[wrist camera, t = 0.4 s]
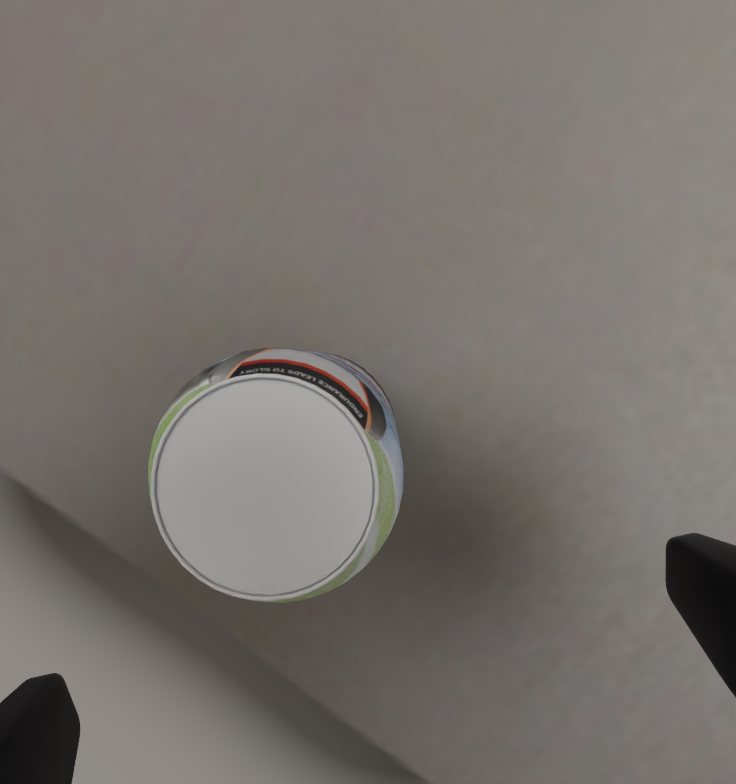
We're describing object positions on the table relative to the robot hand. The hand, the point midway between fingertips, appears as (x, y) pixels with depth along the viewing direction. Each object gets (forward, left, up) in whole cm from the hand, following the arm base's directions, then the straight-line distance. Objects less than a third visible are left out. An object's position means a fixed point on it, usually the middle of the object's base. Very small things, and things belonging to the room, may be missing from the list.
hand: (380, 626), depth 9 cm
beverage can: (+1, +3, -16) cm, 16 cm away
